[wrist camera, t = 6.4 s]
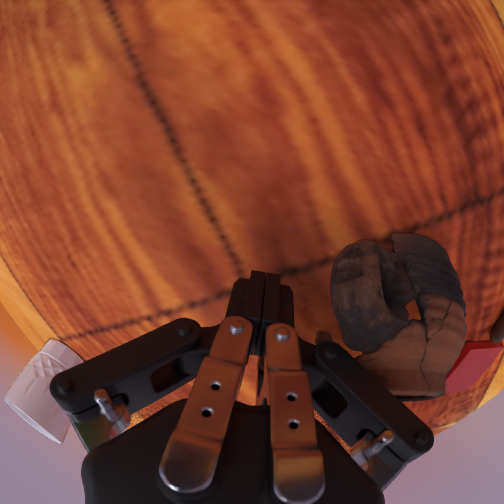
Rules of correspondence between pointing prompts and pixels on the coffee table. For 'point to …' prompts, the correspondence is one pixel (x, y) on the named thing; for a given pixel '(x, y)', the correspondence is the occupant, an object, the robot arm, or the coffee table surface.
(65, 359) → the white cup
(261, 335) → the robot arm
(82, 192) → the coffee table surface
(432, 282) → the dark brown curved piece
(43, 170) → the coffee table surface
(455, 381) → the spatula
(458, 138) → the coffee table surface
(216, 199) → the coffee table surface
